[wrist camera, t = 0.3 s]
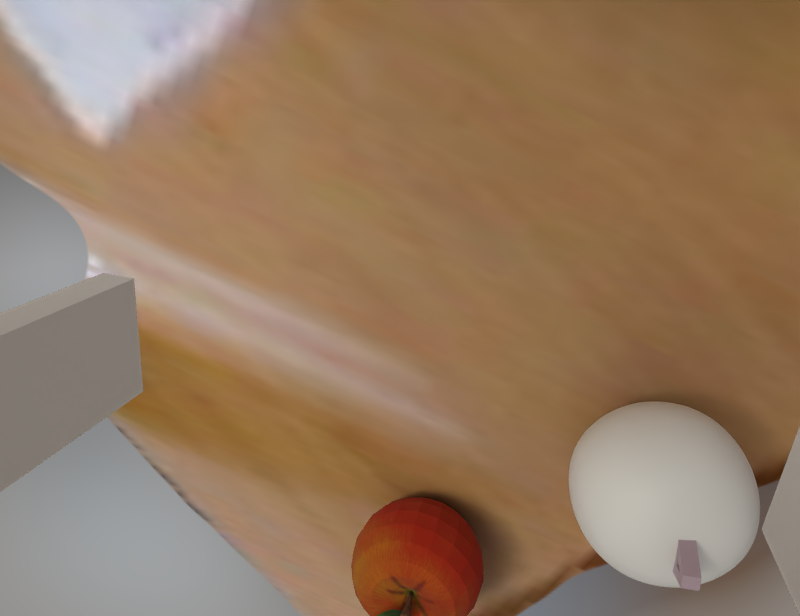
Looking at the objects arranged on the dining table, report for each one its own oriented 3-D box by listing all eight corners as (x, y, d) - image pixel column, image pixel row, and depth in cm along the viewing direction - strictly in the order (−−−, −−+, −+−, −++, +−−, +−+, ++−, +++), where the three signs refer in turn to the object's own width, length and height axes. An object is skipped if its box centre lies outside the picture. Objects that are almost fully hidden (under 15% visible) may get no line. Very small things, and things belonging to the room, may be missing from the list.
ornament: (751, 492, 40) (822, 644, 29) (596, 520, 43) (606, 664, 32) (707, 356, 38) (765, 464, 27) (548, 398, 41) (541, 507, 30)
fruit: (515, 553, 46) (502, 666, 37) (416, 590, 50) (382, 701, 41) (446, 456, 45) (415, 548, 36) (350, 501, 49) (300, 595, 39)
